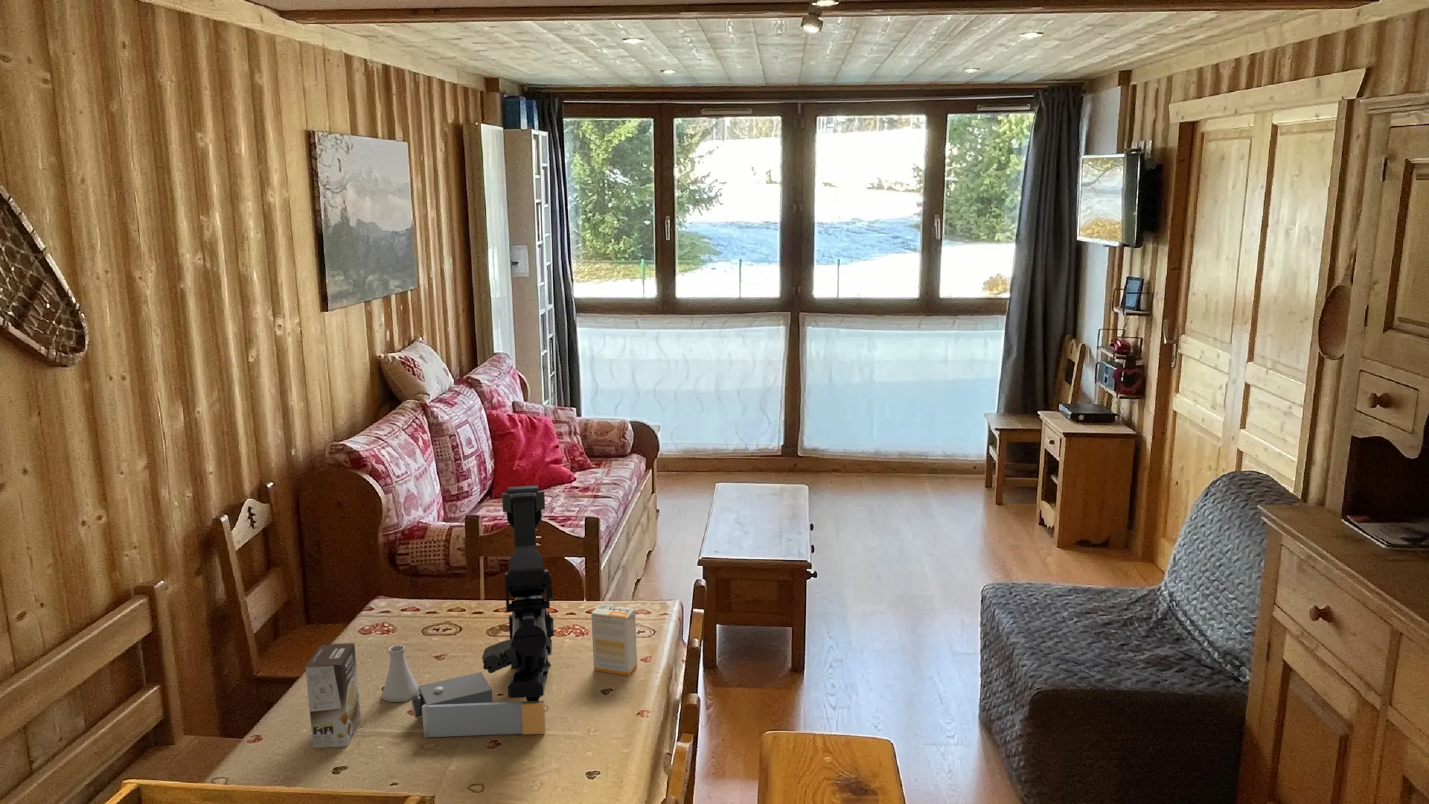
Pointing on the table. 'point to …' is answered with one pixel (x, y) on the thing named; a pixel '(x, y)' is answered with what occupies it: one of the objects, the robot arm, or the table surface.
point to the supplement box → (614, 639)
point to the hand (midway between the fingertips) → (532, 707)
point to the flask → (399, 678)
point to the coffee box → (333, 695)
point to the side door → (484, 719)
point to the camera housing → (453, 692)
